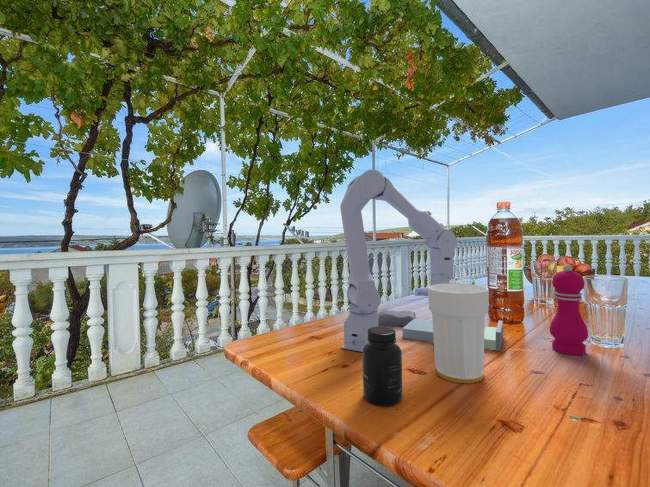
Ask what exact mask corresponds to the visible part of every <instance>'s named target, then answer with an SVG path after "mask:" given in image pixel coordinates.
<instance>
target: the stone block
mask: <svg viewBox="0 0 650 487" xmlns="http://www.w3.org/2000/svg"><path fill="white" fill-rule="evenodd" d="M413 319H417V316H416V312H415V311H412V310H411V311H410V310H407V311H406V310H400V311H398V310H397V311H396V310H390V309H384V308H382V309H380V310H379V311H378V326H395V327H405V326H406V325H407V324H408V323H409V322H411V321H412V320H413Z"/></svg>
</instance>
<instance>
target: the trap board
mask: <svg viewBox="0 0 650 487" xmlns="http://www.w3.org/2000/svg"><path fill="white" fill-rule="evenodd" d="M496 325H497V326H495V327H494V326H487V325H486V326H485V325H484V350H486V349H489V350H488V351H493V350H496V351H495V352H500V351H502V345H503V342H504V320H500V319H499V320H498V322H497V324H496ZM401 330H402V338H404V339H410V340H417V341H423V342H424V341H425V342H431V343H434V338H433V320H430V319H420V318H416V319H413V320H412V321H411V322H409V323H408V324H407V325H406V326H403V327H402V329H401Z"/></svg>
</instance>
